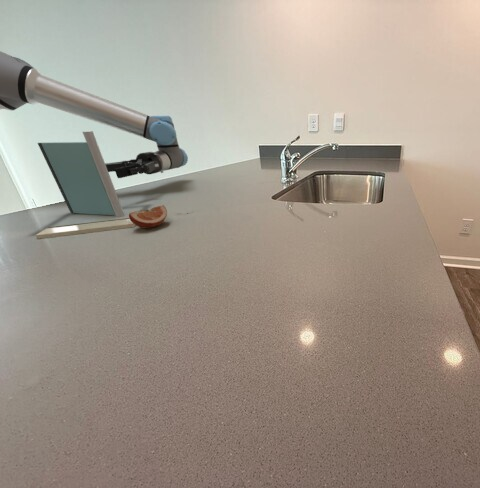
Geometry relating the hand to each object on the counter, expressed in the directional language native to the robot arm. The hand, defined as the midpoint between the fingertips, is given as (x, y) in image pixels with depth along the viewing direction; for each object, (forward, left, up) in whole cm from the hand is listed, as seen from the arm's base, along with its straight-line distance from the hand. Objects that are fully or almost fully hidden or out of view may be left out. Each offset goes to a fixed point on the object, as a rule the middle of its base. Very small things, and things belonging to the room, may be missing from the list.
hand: (97, 173), depth 77 cm
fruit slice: (+16, -23, -11) cm, 30 cm away
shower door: (+1, -5, -10) cm, 11 cm away
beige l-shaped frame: (+1, -13, -11) cm, 17 cm away
